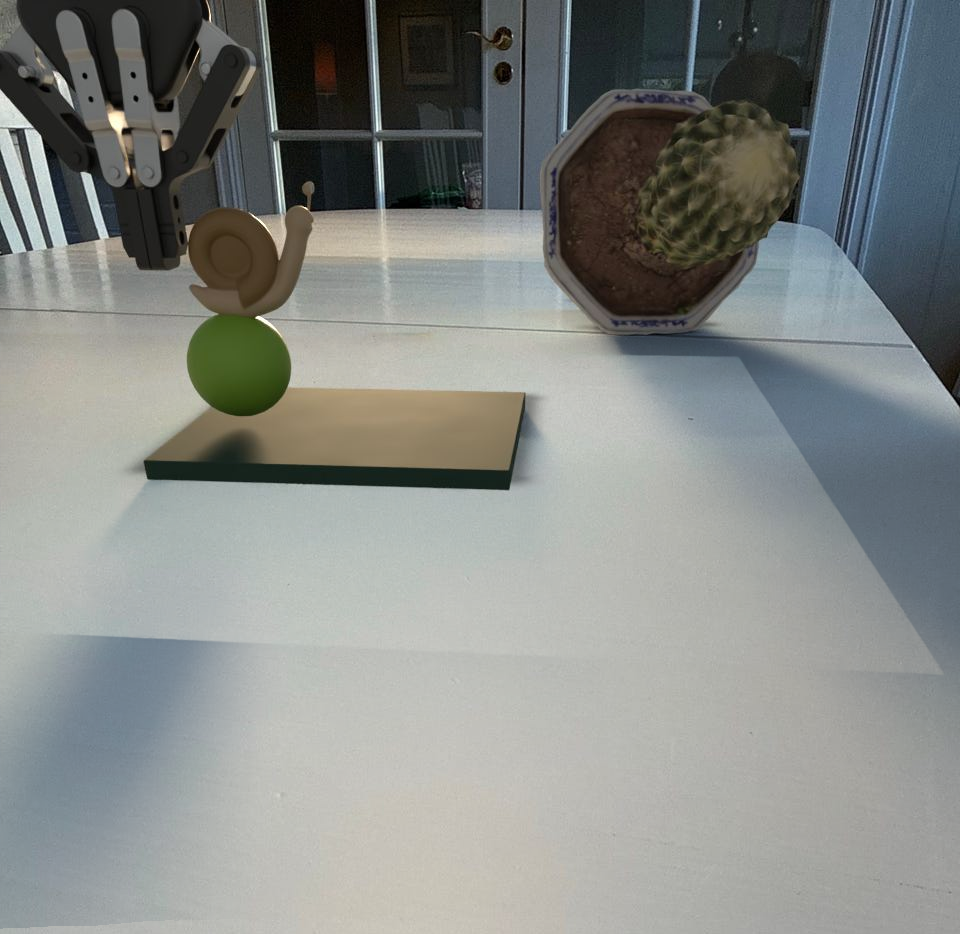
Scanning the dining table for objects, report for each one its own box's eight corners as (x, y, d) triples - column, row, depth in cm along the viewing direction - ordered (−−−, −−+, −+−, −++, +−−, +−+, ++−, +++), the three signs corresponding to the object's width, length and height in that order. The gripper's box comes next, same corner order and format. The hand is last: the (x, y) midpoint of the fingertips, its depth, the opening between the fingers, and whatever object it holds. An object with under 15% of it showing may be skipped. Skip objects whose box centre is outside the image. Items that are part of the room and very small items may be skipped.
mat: (146, 479, 44) (142, 460, 44) (239, 402, 56) (237, 386, 56) (509, 490, 43) (509, 470, 42) (525, 408, 55) (525, 391, 54)
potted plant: (510, 129, 78) (614, -15, 50) (705, 138, 81) (909, 7, 53) (508, 340, 83) (601, 319, 55) (692, 342, 86) (871, 323, 58)
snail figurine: (300, 438, 48) (307, 189, 41) (177, 423, 47) (165, 169, 41) (314, 406, 52) (321, 177, 46) (202, 392, 52) (194, 159, 45)
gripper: (263, -164, 40) (306, 259, 48) (-19, -152, 41) (72, 258, 50) (201, -219, 33) (263, 281, 42) (-132, -203, 34) (-5, 279, 43)
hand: (159, 268), depth 46 cm, fingers closed
